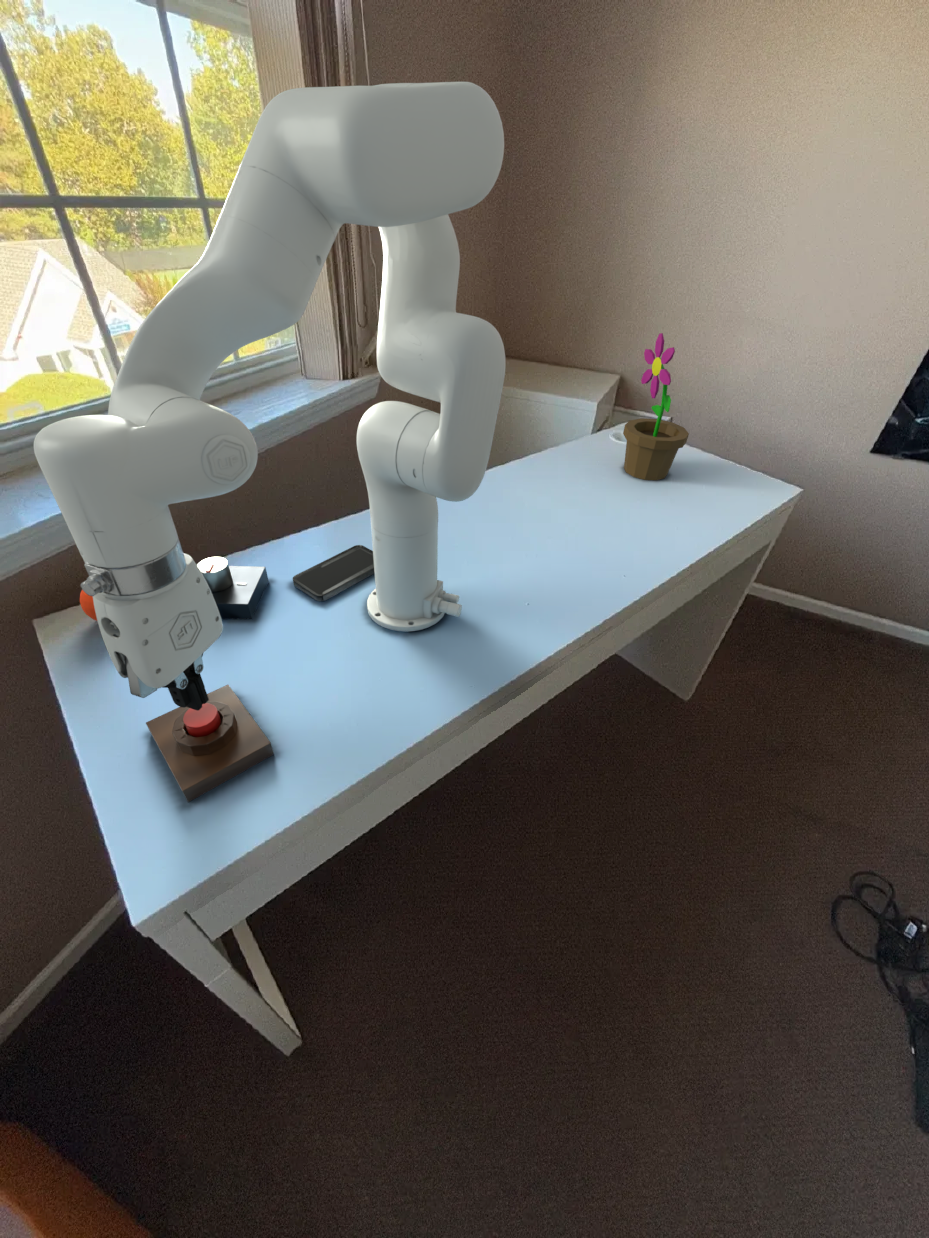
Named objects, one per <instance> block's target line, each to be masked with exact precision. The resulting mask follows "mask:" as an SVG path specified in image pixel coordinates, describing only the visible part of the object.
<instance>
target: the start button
mask: <svg viewBox="0 0 929 1238" xmlns="http://www.w3.org/2000/svg"><path fill="white" fill-rule="evenodd" d="M183 721H184V724H185V726H186V728H187V731H188V733H189V734H190V735H192V736H194V737H204V736H207V735H209V734H211V733H213V732H215V731H216V730H217V729H218V728H219V726H220V723H221V719H220V716H219V713H218V711H217V708H216V707H215V706H214V705H212V704H209V703H205V704H202V708H201V709H200V710H199V711H197V710H194V709H191V708H190V709H189V710H188V711H187V712H186V713H185V715H184V717H183Z"/></svg>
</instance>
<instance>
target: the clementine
mask: <svg viewBox="0 0 929 1238" xmlns="http://www.w3.org/2000/svg"><path fill="white" fill-rule="evenodd" d="M79 604H80V607H81V609H82V611H83V613H85V615H86V616H87V617H89V618H90V619H91V620H93V621H96V622H98V621H97V617H96V613H95V608H94V602H93V596H89V595H87V594H86V593H85V592H84V591H83V590H82V589H81V591H80V593H79Z"/></svg>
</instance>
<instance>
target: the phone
mask: <svg viewBox="0 0 929 1238" xmlns="http://www.w3.org/2000/svg"><path fill="white" fill-rule="evenodd" d="M373 575H375V572H374V559H373V549H370V548H368V547H366V546H364V545H362V544H356V545H353V546H352V547H349V548H347V549H346V550H344V551H341V552H339V553H337V554H335V555H333V556H331V557H329V558H327V559H324V560H323V561H321V562H319V563H317V564H315V565H313V566H311V567H309V568H307V569H305V570H303V571H301V572H299V573H297V574H295V575H293V577H292V583H293V586H294V587H295V588H296V589H298V590H300V591H301V592H303V593H304V594H305V595H307V596H308V597H311V598H312V599H313V600H315V601H317V602H325V601H327V600H329V599H331V598H332V597H335V596H336V595H338V594H340V593H342V592H344V591H345V590H347V589H349V588H350V587H353V586H355V585H356V584H358V583H361V582H362V581H364V580H365V579H367V578H369V577H370V576H373Z"/></svg>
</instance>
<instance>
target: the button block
mask: <svg viewBox="0 0 929 1238" xmlns="http://www.w3.org/2000/svg"><path fill="white" fill-rule="evenodd" d="M207 696H208V698H209V700H208V701H207V702H206V703H209V704H212V705H214V706H215V707H216V708H217V711H218V713H219V716H220V719H221V723H220V726H219V728H218V729H217V730H216V731H215V732H213V733H211V734H209V735H207V736H204V737H194V736H192V735H190V734H189V733H188V731H187V728H186V726H185V724H184V721H183V717H184V715H185V713H186V712H187V711H188V710H189V709H190V708H188V707H185V708H183V707H180V706H177V707H176V708H174V709H172V710H170V711H167V712H166V713H163V714H161V715H159V716H157V717H155V718H153V719H151V720H148V721H146V722H145V725H146V727H147V729H148V731H149V733H150V735H151V736H152V739H153V741H154V742H155V744H156V746H157V749H159V751H160V753H161V755H162V757H163V759H164V760H165V762H166V765H167V767H168V768H169V770H170V772H171V774H172V775H173V778H174V779H175V781H176V783H177V785H178V787H179V789H180V790H181V792H182V795H183V797H184V798H185V800H186V802H187V803H190V802H192V801H193V800H195V799H197V798H199V797H200V796H202V795H204V794H206V793H208V792H210V791H211V790H213V789H215V788H216V787H218V786H221V785H223V784H224V783H225V782H228V781H229V780H231V779H232V778H234V777H236V776H238V775H240V774H242V773H243V772H245V771H247V770H249V769H251V768H252V767H254V766H256V765H258V764H260V763H261V762H263V761H265V760H266V759H268V758H271V757H272V756H274V755H275V752H274V748H273V745H272V743H271V741H270V739H269V738H268V737H267V736H266V734H265V732H264V731H263V730H262V728H261V727H260V726H259V724H258V722H256V720H255V719H254V718H253V716H252V715H251V713H250V712H249V711H248V709H247V708H246V707H245V705H244V704H243V703H242V700H240V698H239V697H238V695H237V694H236V693H235V691H234V690H233V689H232V687H231V686H230V684H226V685H224V686H221V687H220V688H217V689H214V690H213V691H211V692H207Z"/></svg>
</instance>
